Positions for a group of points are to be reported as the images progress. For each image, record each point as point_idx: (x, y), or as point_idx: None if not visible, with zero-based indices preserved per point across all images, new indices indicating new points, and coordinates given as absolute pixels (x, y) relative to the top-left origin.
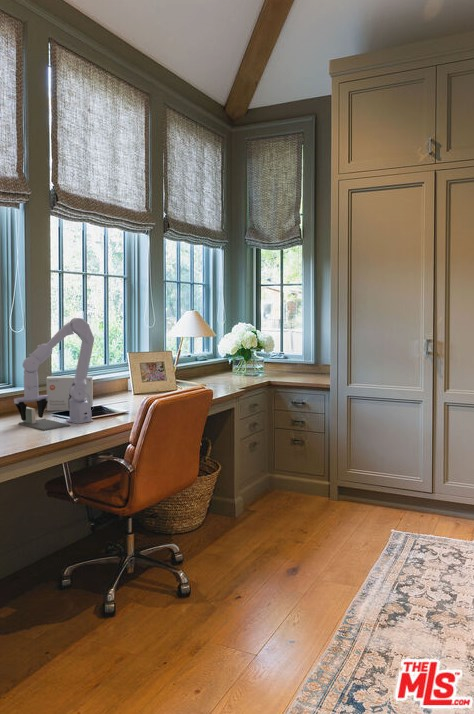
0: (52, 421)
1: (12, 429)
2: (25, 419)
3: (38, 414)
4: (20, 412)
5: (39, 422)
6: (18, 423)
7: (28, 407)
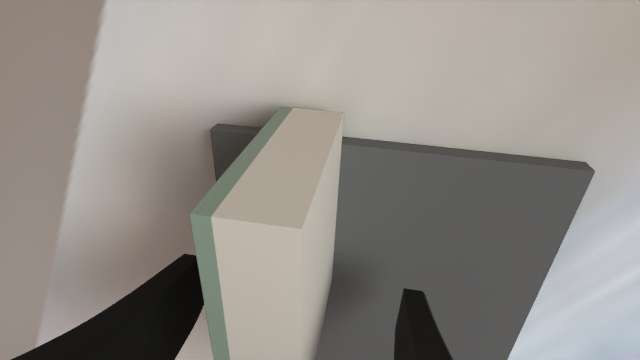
0: (485, 344)
1: (99, 268)
2: (200, 304)
3: (404, 316)
4: (115, 319)
5: (372, 288)
6: (214, 127)
7: (287, 309)
